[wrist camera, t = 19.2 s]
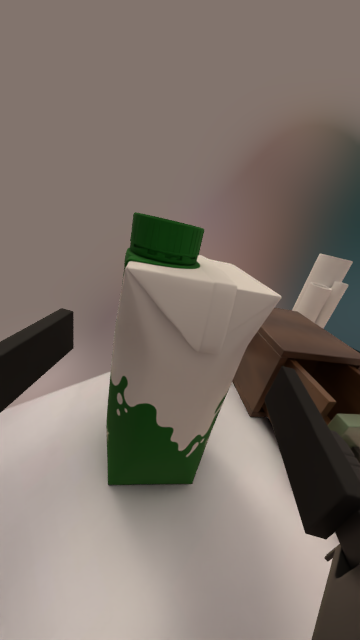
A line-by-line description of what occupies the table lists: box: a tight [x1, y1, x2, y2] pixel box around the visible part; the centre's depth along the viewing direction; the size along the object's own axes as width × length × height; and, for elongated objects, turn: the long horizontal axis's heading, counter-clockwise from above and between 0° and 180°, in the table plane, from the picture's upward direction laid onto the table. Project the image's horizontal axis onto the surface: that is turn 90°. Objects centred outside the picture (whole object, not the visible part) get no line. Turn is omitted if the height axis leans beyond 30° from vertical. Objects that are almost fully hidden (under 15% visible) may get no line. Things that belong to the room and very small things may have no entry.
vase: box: [292, 254, 353, 328], centre depth 49 cm, size 11×7×20 cm, turn 156°
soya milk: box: [107, 213, 281, 485], centre depth 16 cm, size 9×9×20 cm
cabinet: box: [232, 308, 360, 417], centre depth 32 cm, size 14×12×10 cm
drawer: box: [262, 358, 360, 463], centre depth 22 cm, size 17×11×8 cm, turn 8°
